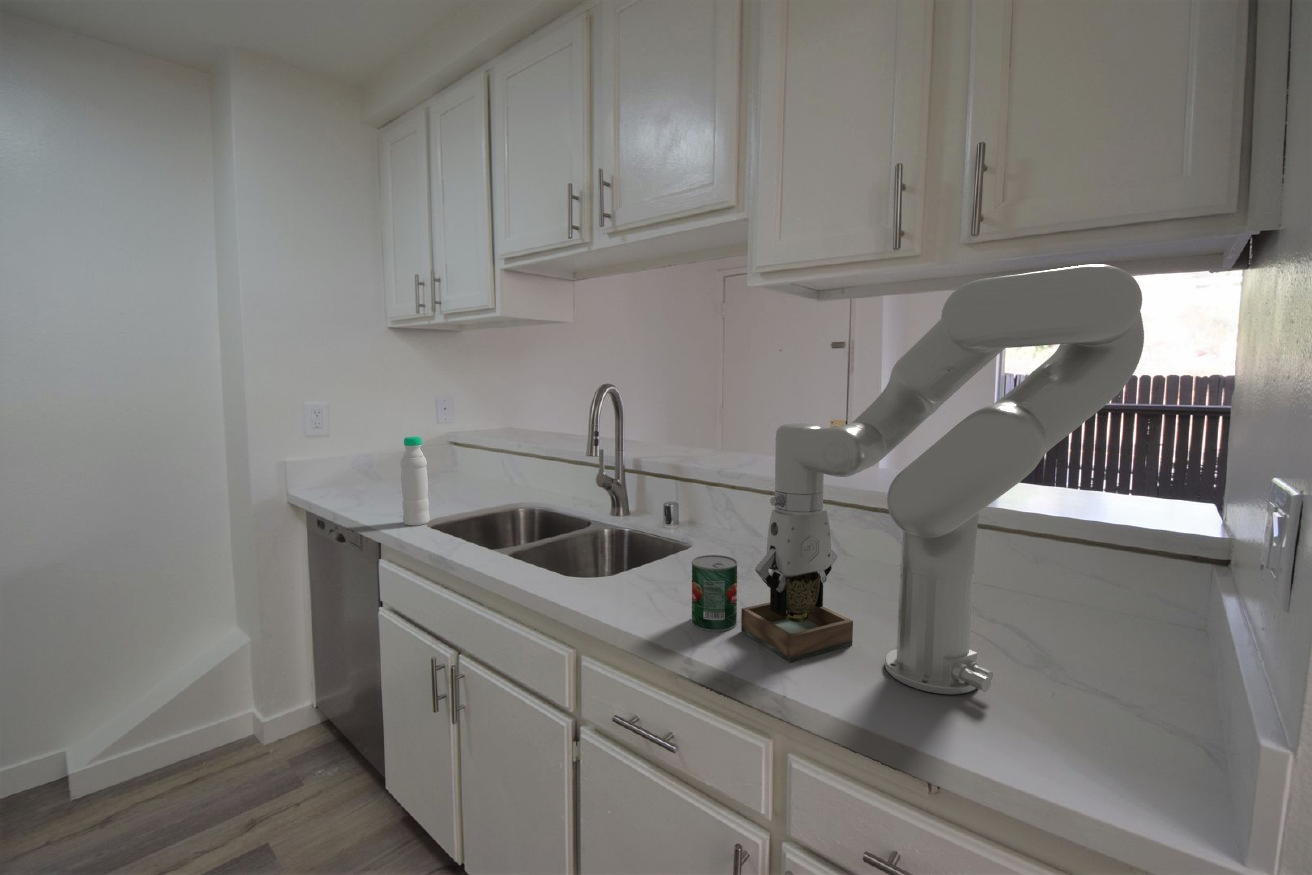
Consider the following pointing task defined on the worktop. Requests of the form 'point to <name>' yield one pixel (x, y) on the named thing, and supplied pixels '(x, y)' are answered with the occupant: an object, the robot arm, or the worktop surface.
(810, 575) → the olive textured bell shape
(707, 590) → the canned tomato
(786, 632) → the walnut box
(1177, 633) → the worktop surface
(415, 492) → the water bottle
